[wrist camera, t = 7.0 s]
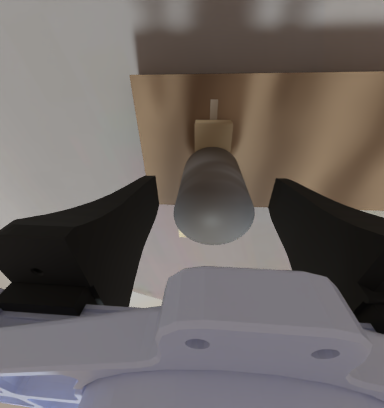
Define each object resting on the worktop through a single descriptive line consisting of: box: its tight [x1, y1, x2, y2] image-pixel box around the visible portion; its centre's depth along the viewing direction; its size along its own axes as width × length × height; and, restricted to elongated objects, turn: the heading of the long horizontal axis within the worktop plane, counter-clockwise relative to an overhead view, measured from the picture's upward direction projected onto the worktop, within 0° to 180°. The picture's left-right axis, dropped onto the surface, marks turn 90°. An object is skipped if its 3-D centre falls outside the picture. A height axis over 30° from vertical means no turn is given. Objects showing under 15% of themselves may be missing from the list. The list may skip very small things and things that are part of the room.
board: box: [130, 71, 384, 211], centre depth 15 cm, size 22×10×2 cm, turn 91°
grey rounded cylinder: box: [174, 120, 254, 245], centre depth 13 cm, size 5×9×8 cm, turn 1°
